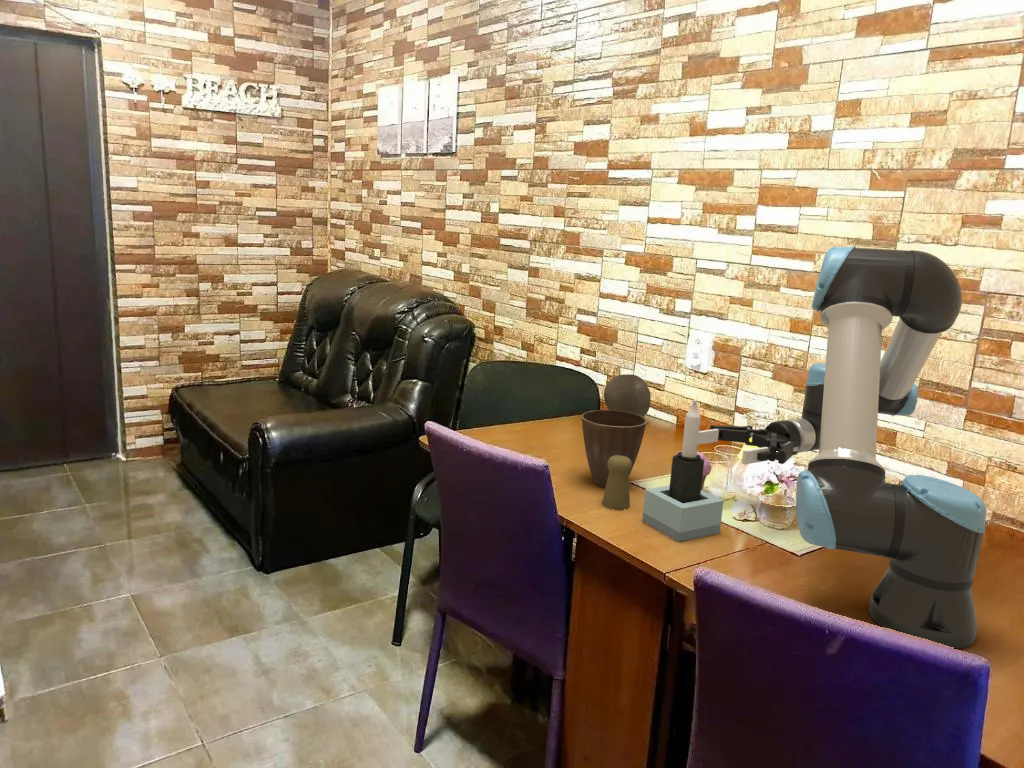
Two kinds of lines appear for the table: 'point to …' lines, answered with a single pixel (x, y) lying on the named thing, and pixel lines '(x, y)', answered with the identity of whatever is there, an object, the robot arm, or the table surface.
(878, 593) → the robot arm
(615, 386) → the dark grey round ball
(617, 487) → the olive pawn
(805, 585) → the table surface
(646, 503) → the holder
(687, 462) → the candle
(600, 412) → the plant pot
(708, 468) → the cupcake
